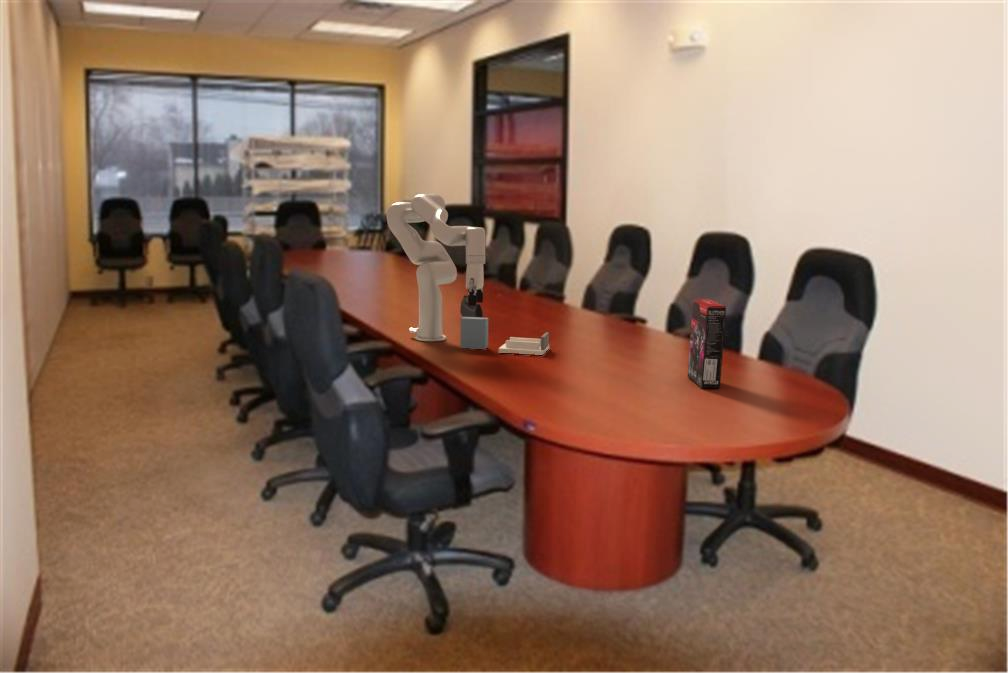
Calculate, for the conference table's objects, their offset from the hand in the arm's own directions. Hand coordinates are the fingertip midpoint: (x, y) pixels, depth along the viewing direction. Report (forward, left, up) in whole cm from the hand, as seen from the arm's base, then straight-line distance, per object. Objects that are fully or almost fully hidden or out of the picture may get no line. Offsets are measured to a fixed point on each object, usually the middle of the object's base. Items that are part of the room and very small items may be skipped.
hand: (475, 304), depth 344 cm
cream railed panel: (+20, 0, -18) cm, 26 cm away
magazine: (-17, +58, -18) cm, 63 cm away
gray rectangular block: (0, 0, -18) cm, 18 cm away
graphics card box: (+88, -34, -18) cm, 95 cm away
